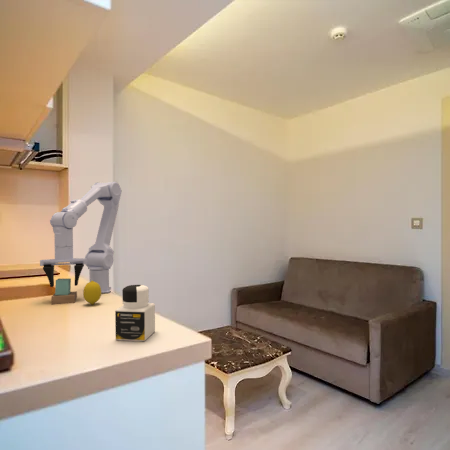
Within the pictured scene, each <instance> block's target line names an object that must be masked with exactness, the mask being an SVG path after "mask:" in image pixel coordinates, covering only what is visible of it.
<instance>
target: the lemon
mask: <svg viewBox="0 0 450 450" xmlns="http://www.w3.org/2000/svg"><path fill="white" fill-rule="evenodd" d="M82 294H83V295H82V296H83V299H84V301H86V302H87V303H89V304H90V305H92V306H93V305H94V304H95V303H97V302H98V301H99V300H100V298H101V296H102V293H101V288H100V285H99V284H98V283H96V282H94V281H91V282H90V281H89V282H87V283H86V284H85V286H84V287H83V293H82Z"/></svg>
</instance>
